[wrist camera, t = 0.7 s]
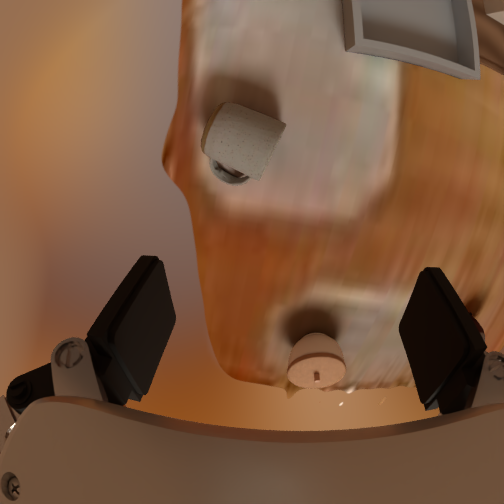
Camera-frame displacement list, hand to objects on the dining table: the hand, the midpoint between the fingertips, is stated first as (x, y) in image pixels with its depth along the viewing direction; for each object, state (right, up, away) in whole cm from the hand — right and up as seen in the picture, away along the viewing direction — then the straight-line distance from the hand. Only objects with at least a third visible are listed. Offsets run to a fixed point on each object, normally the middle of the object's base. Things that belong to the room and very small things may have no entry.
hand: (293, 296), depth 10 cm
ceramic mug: (-2, +16, +25) cm, 30 cm away
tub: (+19, +34, +11) cm, 40 cm away
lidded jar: (+11, -16, +43) cm, 47 cm away
